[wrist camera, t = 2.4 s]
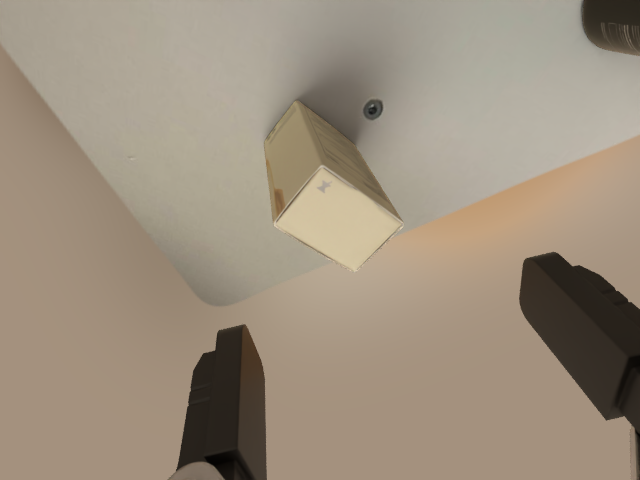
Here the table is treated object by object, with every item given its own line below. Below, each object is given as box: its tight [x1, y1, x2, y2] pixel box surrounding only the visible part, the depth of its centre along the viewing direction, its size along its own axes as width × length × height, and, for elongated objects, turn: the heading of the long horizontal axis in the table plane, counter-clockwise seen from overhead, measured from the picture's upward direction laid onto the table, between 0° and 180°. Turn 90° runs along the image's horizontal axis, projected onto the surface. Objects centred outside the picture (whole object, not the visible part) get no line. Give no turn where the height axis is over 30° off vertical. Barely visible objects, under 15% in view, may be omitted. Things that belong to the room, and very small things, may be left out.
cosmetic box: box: [264, 100, 404, 273], centre depth 27 cm, size 6×4×12 cm
